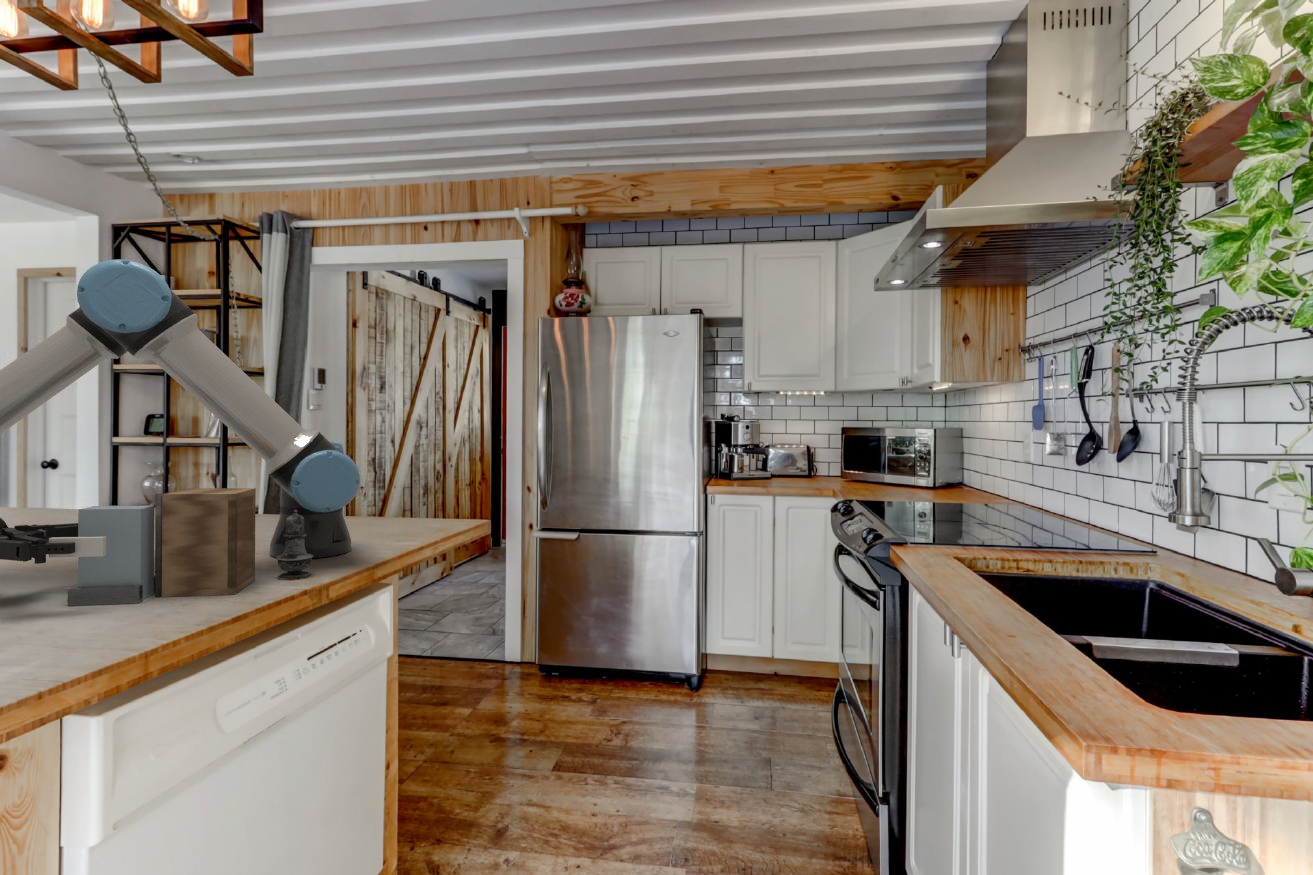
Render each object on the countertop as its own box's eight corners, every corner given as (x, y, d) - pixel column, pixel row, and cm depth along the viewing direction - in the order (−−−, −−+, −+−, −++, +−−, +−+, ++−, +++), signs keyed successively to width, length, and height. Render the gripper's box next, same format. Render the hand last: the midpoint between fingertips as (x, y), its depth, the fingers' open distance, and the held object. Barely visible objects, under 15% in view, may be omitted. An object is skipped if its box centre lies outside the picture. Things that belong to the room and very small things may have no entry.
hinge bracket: (67, 605, 95) (67, 588, 95) (97, 592, 102) (98, 576, 102) (138, 603, 97) (139, 586, 97) (163, 590, 104) (163, 574, 104)
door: (73, 604, 95) (74, 510, 95) (94, 595, 100) (94, 505, 100) (137, 602, 97) (137, 509, 97) (153, 593, 102) (154, 505, 102)
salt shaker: (307, 571, 119) (308, 506, 119) (317, 576, 115) (318, 509, 115) (271, 575, 115) (272, 508, 115) (280, 582, 111) (281, 512, 111)
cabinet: (153, 597, 100) (154, 494, 100) (180, 583, 109) (181, 488, 109) (234, 594, 103) (235, 494, 102) (254, 580, 112) (255, 488, 111)
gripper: (20, 549, 107) (169, 546, 112) (-118, 588, 82) (80, 581, 88) (21, 504, 106) (169, 503, 112) (-118, 529, 82) (80, 526, 87)
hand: (130, 538), depth 100 cm, fingers open, 13 cm apart
